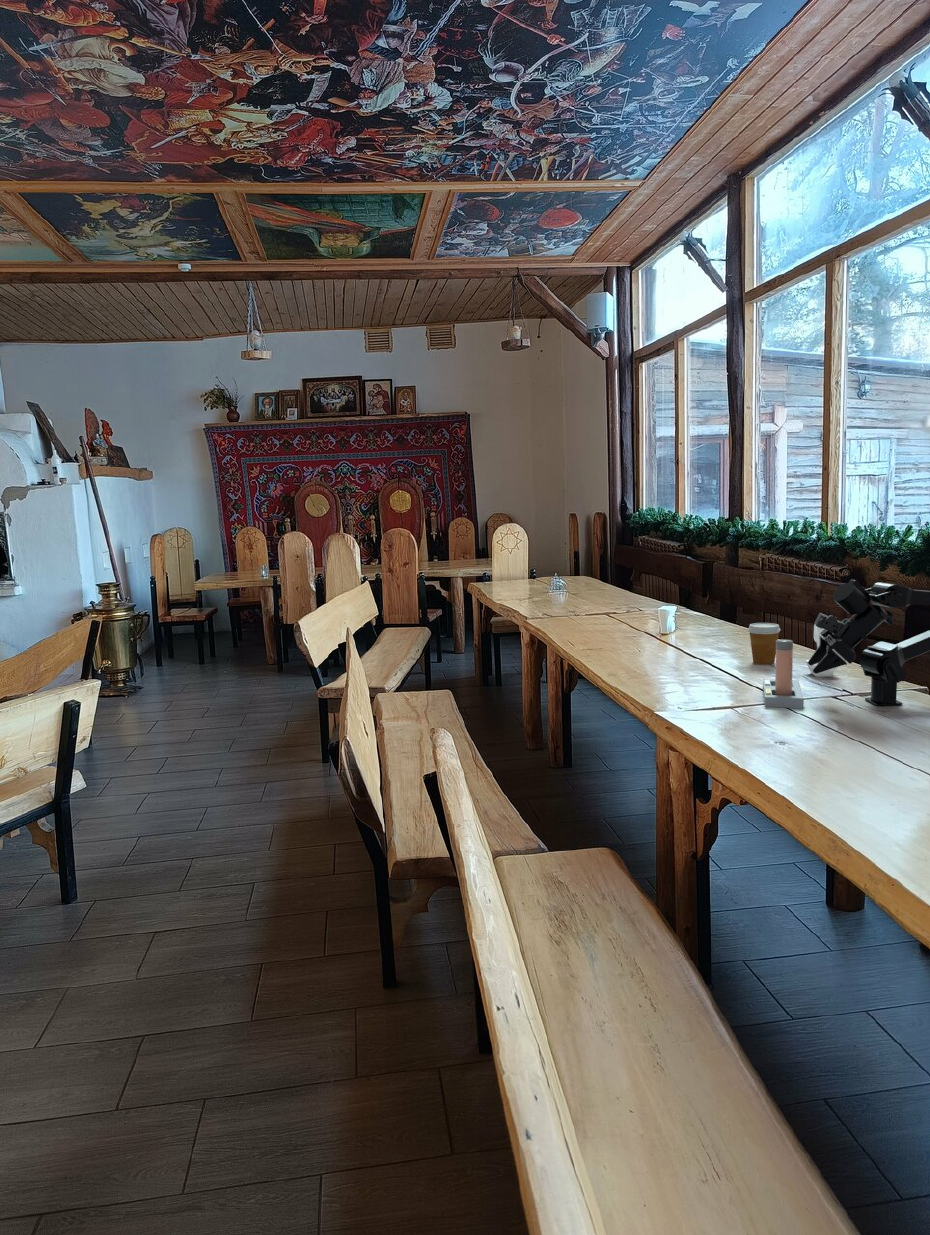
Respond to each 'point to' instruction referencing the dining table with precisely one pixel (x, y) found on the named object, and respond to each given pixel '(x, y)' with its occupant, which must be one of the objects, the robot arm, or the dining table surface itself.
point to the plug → (784, 667)
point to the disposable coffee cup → (763, 642)
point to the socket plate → (781, 700)
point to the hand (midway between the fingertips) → (811, 668)
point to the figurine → (821, 674)
